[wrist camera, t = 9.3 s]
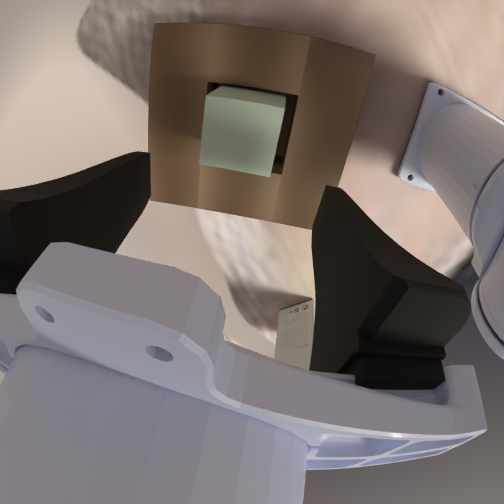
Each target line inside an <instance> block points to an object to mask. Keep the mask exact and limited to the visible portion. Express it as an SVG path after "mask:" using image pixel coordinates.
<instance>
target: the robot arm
mask: <svg viewBox="0 0 504 504" xmlns="http://www.w3.org/2000/svg"><path fill="white" fill-rule="evenodd" d="M439 89H441V90H442V93H441V94H440V95H439V94H438V90H439ZM409 175H412V177H411V178H408V176H409ZM398 177H399V179H400V180H401V181H403V182H406V183H409V184H412V185H415V186H418V187H421V188H424V189H427V190H430V191H432V192H435V193H437V194H438V195H439V196H440V198H441V199H442V200H443V202H444V203H445V204H446V206H447V207H448V209H449V210H450V211H451V213H452V214H453V216H454V217H455V219H456V220H457V222H458V223H459V225H460V226H461V228H462V229H463V231H464V232H465V234H466V235H467V237H468V239H469V240H470V242H471V243H472V245H473V247H474V257H473V260H472V262H471V263H472V265H473V267H474V269H475V271H476V273H477V274H478V276H479V280H478V282H477V283H476V285H475V287H474V289H473V293H472V299H471V305H472V312H473V316H474V319H475V322H476V324H477V327H478V329H479V331H480V333H481V335H482V336H483V338H484V339H485V341H486V342H487V344H488V345H489V346H490V347H491V348H492V350H493V351H494V352H495V353H496V354H497V355H499V356H500V357H501V358H502V359H504V122H503V121H502V120H500V119H499V118H497V117H496V116H494V115H492V114H491V113H489V112H488V111H486V110H485V109H483V108H481V107H480V106H478V105H476V104H475V103H473V102H471V101H470V100H468V99H466V98H464V97H462V96H461V95H459V94H457V93H455V92H453V91H451V90H449V89H448V88H446V87H444V86H442V85H440V84H438V83H435V82H430V83H429V84H428V86H427V89H426V92H425V95H424V99H423V102H422V105H421V108H420V112H419V115H418V118H417V121H416V124H415V127H414V130H413V133H412V136H411V138H410V141H409V144H408V147H407V150H406V152H405V155H404V158H403V160H402V163H401V166H400V168H399V171H398ZM150 197H151V162H150V153H147V152H138V151H137V152H132V153H128V154H125V155H122V156H119V157H116V158H114V159H111V160H109V161H106V162H103V163H101V164H98V165H95V166H93V167H90V168H87V169H85V170H82V171H80V172H77V173H74V174H71V175H68V176H65V177H61V178H58V179H55V180H51V181H47V182H43V183H39V184H35V185H31V186H25V187H20V188H15V189H8V190H0V371H2V372H3V373H5V376H4V379H3V381H2V383H1V385H0V504H303V495H304V485H305V472H306V470H316V469H337V468H338V469H339V468H352V467H362V466H372V465H379V464H387V463H393V462H400V461H406V460H412V459H417V458H423V457H429V456H434V455H438V454H441V453H443V452H445V451H448V450H450V449H452V448H454V447H456V446H458V445H461V444H463V443H465V442H467V441H468V440H471V439H473V438H475V437H476V436H478V435H480V434H482V433H484V432H485V431H486V430H487V426H486V421H485V415H484V409H483V404H482V400H481V395H480V391H479V386H478V383H477V378H476V374H475V370H474V367H473V366H471V365H452V366H448V367H446V368H443V366H442V362H441V360H443V359H444V358H445V356H446V353H445V350H444V346H445V345H446V344H447V343H448V342H449V341H450V340H451V339H452V338H453V337H454V336H455V335H456V334H457V333H458V332H459V331H460V330H461V328H462V327H463V326H464V325H465V323H466V322H467V320H468V317H469V315H470V311H471V305H470V302H469V299H468V296H467V294H466V292H465V289H464V287H463V286H462V285H461V284H459V283H457V282H455V281H454V280H452V279H450V278H448V277H446V276H444V275H442V274H441V273H439V272H437V271H436V270H434V269H432V268H431V267H429V266H428V265H426V264H424V263H423V262H422V261H420V260H419V259H417V258H416V257H414V256H413V255H412V254H410V253H409V252H408V251H406V250H405V249H404V248H402V247H401V246H400V245H398V244H397V243H396V242H395V241H394V240H393V239H391V238H390V237H389V236H388V235H387V234H386V233H384V232H383V231H382V230H381V229H380V228H379V227H378V226H377V225H376V224H375V223H374V222H373V221H372V220H371V219H370V218H369V217H368V216H367V215H366V214H365V213H364V212H363V210H362V209H361V208H360V207H359V206H358V205H357V204H356V203H355V202H354V201H353V200H352V199H351V198H350V196H349V195H348V194H347V193H346V192H345V191H343V190H342V189H341V188H338V187H334V186H330V185H326V186H325V189H324V192H323V196H322V199H321V202H320V205H319V208H318V211H317V214H316V217H315V220H314V223H313V226H312V258H313V268H314V280H315V296H316V301H315V320H314V332H313V343H312V352H311V360H310V367H309V370H305V369H302V368H299V367H296V366H293V365H290V364H287V363H284V362H281V361H279V360H276V359H273V358H270V357H267V356H265V355H262V354H259V353H257V352H254V351H251V350H249V349H246V348H244V347H241V346H238V345H236V344H233V343H231V342H228V341H226V340H224V336H223V329H224V322H225V312H224V308H223V305H222V301H221V298H220V297H219V296H218V295H217V294H216V293H215V292H214V291H213V290H212V289H211V288H210V287H209V286H208V285H206V284H205V283H204V282H203V281H202V280H201V279H200V278H199V277H196V276H194V275H192V274H189V273H187V272H184V271H182V270H179V269H177V268H175V267H171V266H167V265H162V264H158V263H153V262H149V261H144V260H140V259H135V258H131V257H127V256H122V255H119V254H115V253H116V251H117V249H118V248H119V246H120V245H121V243H122V242H123V240H124V239H125V237H126V236H127V234H128V233H129V231H130V230H131V228H132V227H133V226H134V224H135V223H136V221H137V220H138V218H139V217H140V215H141V214H142V212H143V210H144V209H145V207H146V205H147V203H148V200H149V199H150Z"/></svg>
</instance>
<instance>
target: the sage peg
mask: <svg viewBox="0 0 504 504" xmlns="http://www.w3.org/2000/svg"><path fill="white" fill-rule="evenodd" d="M285 103H286V93H283V92H278V91H273V90H267V89H261V88H255V87H248V86H241V85H233V84H224V85H222V86H220V87H219V88H217V89H216V90H214V91H212V92H211V93H209V94H208V95H206V100H205V109H204V118H203V127H202V137H201V148H200V159H199V164H200V165H206V166H212V167H218V168H224V169H229V170H235V171H240V172H246V173H251V174H256V175H261V176H266V177H270V175H271V171H272V166H273V161H274V157H275V152H276V148H277V143H278V138H279V134H280V129H281V125H282V120H283V116H284V111H285Z"/></svg>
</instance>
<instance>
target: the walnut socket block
mask: <svg viewBox="0 0 504 504" xmlns="http://www.w3.org/2000/svg"><path fill="white" fill-rule="evenodd" d="M374 59H375V55H374V54H371V53H368V52H365V51H362V50H359V49H355V48H352V47H349V46H345V45H342V44H338V43H334V42H331V41H327V40H323V39H319V38H314V37H310V36H305V35H301V34H296V33H290V32H285V31H279V30H273V29H266V28H259V27H250V26H241V25H230V24H214V23H156V24H154V32H153V42H152V53H151V67H150V85H149V118H148V121H149V122H148V150H149V151H148V153H150V162H151V197H150V200H151V201H157V202H163V203H170V204H176V205H182V206H188V207H194V208H199V209H205V210H211V211H216V212H222V213H228V214H233V215H238V216H244V217H249V218H254V219H260V220H265V221H270V222H275V223H280V224H285V225H290V226H295V227H300V228H305V229H310V230H312V226H313V223H314V220H315V217H316V214H317V211H318V208H319V205H320V202H321V199H322V196H323V192H324V189H325V186H326V185H330V186H334V187H338V184H339V181H340V178H341V175H342V172H343V169H344V166H345V162H346V159H347V156H348V153H349V149H350V146H351V143H352V139H353V136H354V133H355V129H356V126H357V122H358V119H359V115H360V112H361V108H362V105H363V101H364V97H365V94H366V90H367V86H368V82H369V79H370V75H371V71H372V67H373V63H374ZM224 84H233V85H241V86H248V87H255V88H261V89H267V90H273V91H278V92H283V93H286V103H285V111H284V116H283V120H282V125H281V129H280V134H279V138H278V143H277V148H276V152H275V157H274V161H273V166H272V171H271V175H270V177H266V176H261V175H256V174H251V173H246V172H240V171H235V170H229V169H224V168H218V167H212V166H206V165H200V164H199V159H200V148H201V137H202V127H203V118H204V109H205V100H206V95H208V94H209V93H211V92H212V91H214V90H216V89H217V88H219V87H220V86H222V85H224Z"/></svg>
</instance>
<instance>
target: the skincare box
mask: <svg viewBox="0 0 504 504" xmlns="http://www.w3.org/2000/svg"><path fill="white" fill-rule="evenodd" d="M314 320H315V301H314V300H310V301H307V302H304V303H301V304H298V305H295V306H292V307H289V308H286V309H283V310H280V311H279V313H278V326H277V338H276V350H275V359H276V360H279V361H281V362H284V363H287V364H290V365H293V366H296V367H299V368H302V369H305V370H309V367H310V360H311V352H312V343H313V332H314Z"/></svg>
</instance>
